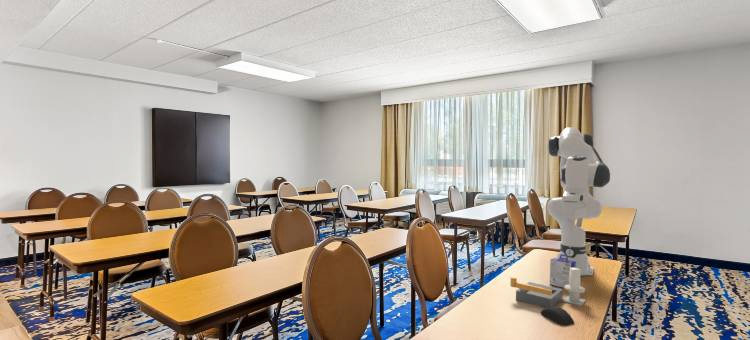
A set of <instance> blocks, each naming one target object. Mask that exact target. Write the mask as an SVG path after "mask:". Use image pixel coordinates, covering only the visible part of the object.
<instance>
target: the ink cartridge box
mask: <svg viewBox="0 0 750 340" xmlns="http://www.w3.org/2000/svg"><path fill="white" fill-rule="evenodd" d="M561 256H565V257H567V258H562V257H561ZM549 261H550V262H549V285H550V286H551V285H552V286H554V287H559V288H561V289H564V286H565V285H568V284H569V278H570V268H576V262H575V261H570V260H568V255H563V254H561V255H560V258H557V257H553V258H551V259H550V260H549Z"/></svg>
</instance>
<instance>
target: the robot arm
mask: <svg viewBox="0 0 750 340" xmlns="http://www.w3.org/2000/svg"><path fill="white" fill-rule="evenodd" d="M595 145H596V142H595V139H594V138H593V135H592V134H589V133H583V134H582V132H580V130H579V129H578V128H576V127H571V126H569V127H566V128H564V129H563V130H562V131H561V132H560V134H559V135H557V136H552V137H550V138H549V139H548V141H547V143H546V150H547V152H548V154H549V155H550V156H551V157H560V163H559V176H560V178H559V179H560V186H561V187H562V189H563V190H564V192H563V195H562V196H560V197H553V198H551V199H550V200H549V201H548V203H547V206H546V209H547V213H548V214H549V216H550V217H552V218H553V219H554V220H555V221H557V223H558V225H559V227H560V235H561V242H560V245H559V246H560V247H559V248H560V249H559V250H560V251H559V252H558V253H557V254H556V256H557V257H556V258H560V255H561V254H563V255H568V260H570V261H575V262H576V268H578V269H580V270H581V275H580V276H594V268H595V267H594V266H592V265H591V264H590V258H589V256H588V254H587V244H586V231H585V229H584V228H583V220H584V219H585V220H588V219H596V218H598V217H600V215H601V213H602V210H603V208H602V205H601V202H600V201H599V200H598V199H597V198H595V197H594V196H593V195H592V194H591V193H590V187H594V188H601V189H602V188H603V187H605V186H606V185H608V184H609V183H610V182H611V181H610V179H611V172H610V171H611V170H610V169H609V167H608V165H607V164H606V163H604V161H603V159H602V157H601V156H600V154H599V153H598V152H597V149H595ZM561 257H562V258H567V257H565V256H561Z"/></svg>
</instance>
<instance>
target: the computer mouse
mask: <svg viewBox="0 0 750 340" xmlns="http://www.w3.org/2000/svg"><path fill="white" fill-rule="evenodd" d="M540 314H541V316H542V317H545V318H547V319H548V320H550V321H552V322H554V323H556V324H558V325H560V326H565V327H566V326H570V325H574V324H575V321H574V319H573V318H572V316H571V314H570V313H569V312H568V311H567V310H565V309H564V308H563V307H561V306H554V307H548V308H545V307H544V308H543V309H542V310H541V311H540Z"/></svg>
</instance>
